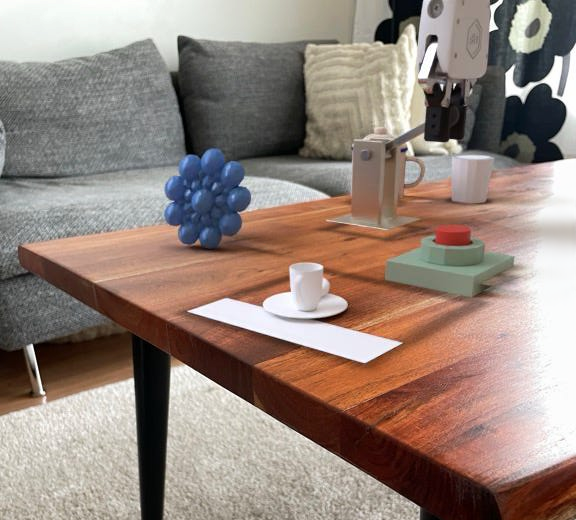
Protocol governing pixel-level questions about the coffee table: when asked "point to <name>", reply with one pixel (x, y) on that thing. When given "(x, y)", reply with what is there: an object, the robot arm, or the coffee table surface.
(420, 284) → the green button base
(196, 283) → the coffee table surface
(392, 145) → the switch lever
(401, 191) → the teacup with lid
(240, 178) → the blue beaded flower wheel
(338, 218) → the switch bracket
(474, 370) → the coffee table surface
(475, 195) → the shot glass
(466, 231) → the button
